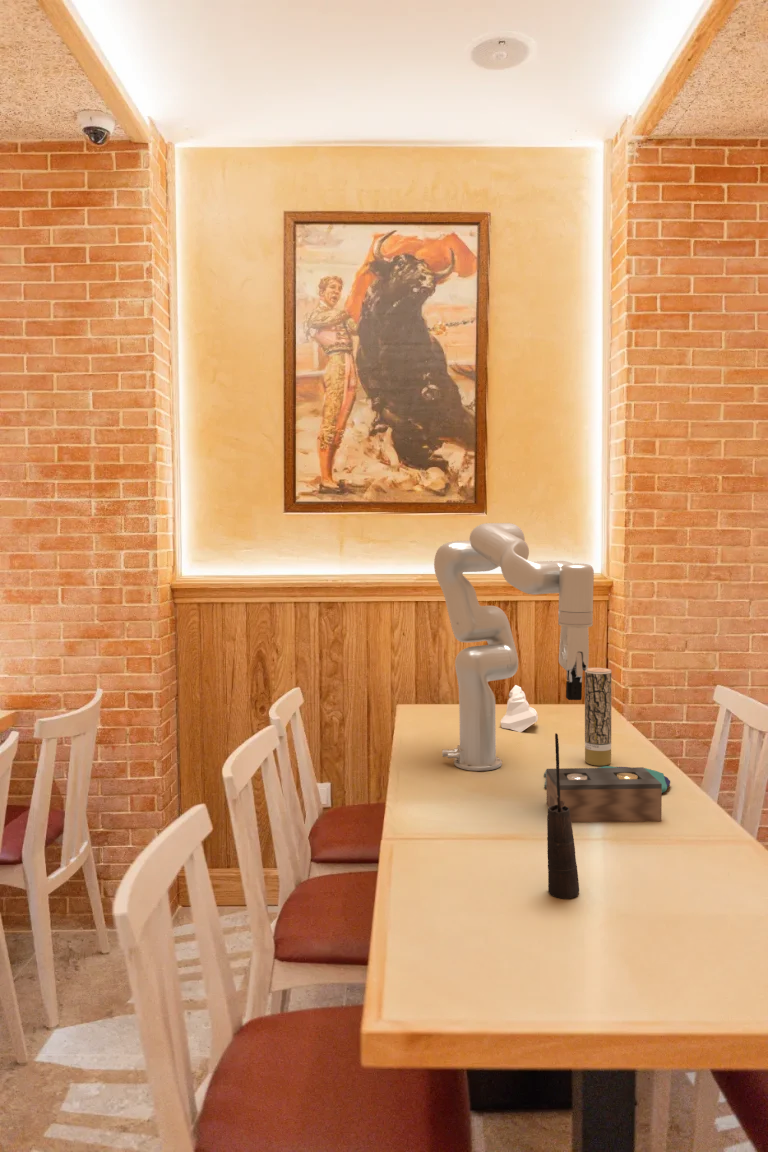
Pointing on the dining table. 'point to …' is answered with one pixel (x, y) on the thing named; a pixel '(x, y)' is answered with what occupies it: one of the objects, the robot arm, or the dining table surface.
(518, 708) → the soft serve ice cream
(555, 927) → the dining table surface
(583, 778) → the steel peg
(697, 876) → the dining table surface
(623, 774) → the brass peg
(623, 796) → the peg block
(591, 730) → the paper tube
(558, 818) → the butter churn
